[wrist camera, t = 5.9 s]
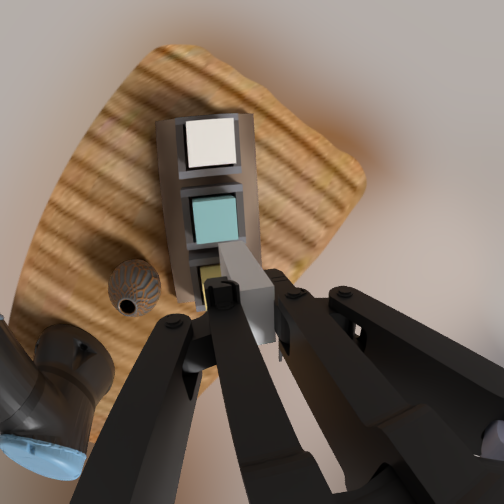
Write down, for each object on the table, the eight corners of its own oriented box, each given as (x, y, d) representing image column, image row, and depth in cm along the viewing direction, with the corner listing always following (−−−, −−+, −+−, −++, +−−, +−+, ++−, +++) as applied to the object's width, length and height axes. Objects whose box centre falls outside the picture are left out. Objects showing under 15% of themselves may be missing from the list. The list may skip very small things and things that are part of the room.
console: (178, 298, 38) (177, 318, 33) (156, 123, 31) (150, 116, 25) (260, 287, 41) (270, 304, 35) (250, 115, 33) (261, 107, 28)
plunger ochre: (204, 299, 34) (207, 320, 29) (200, 266, 33) (202, 283, 28) (239, 294, 35) (247, 314, 30) (236, 261, 33) (244, 278, 29)
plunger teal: (196, 232, 33) (196, 244, 29) (192, 197, 32) (192, 202, 27) (231, 228, 34) (238, 239, 30) (228, 193, 33) (235, 198, 28)
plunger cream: (189, 167, 29) (189, 167, 24) (186, 128, 27) (185, 121, 23) (229, 163, 30) (236, 163, 25) (226, 125, 28) (233, 117, 24)
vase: (121, 246, 34) (103, 270, 26) (168, 261, 36) (163, 289, 28) (112, 291, 36) (95, 323, 28) (156, 304, 38) (150, 339, 30)
